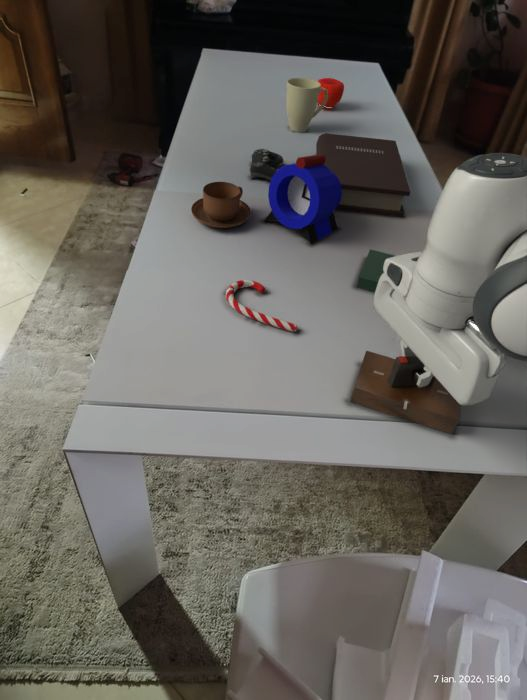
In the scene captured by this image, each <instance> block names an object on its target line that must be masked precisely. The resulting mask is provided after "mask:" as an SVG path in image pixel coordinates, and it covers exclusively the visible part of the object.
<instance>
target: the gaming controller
mask: <svg viewBox="0 0 527 700" xmlns="http://www.w3.org/2000/svg"><path fill="white" fill-rule="evenodd" d="M283 163H284V157H283V156H282V155H281V154H279V153H277V152H274V151H270V150H269V149H265V148H259V149H256V150H254V151H253V153H252V154H251V164H250V167H249V173H250V177H251V178H250V179H253V178H259V177H260V178H262V179H264V180H265V179H266V180H267V181H270V182H271V179H272V177H273V175H274V174H275V173H276V171H277V170H278V169H276V168H274V167H273V166H280V165H282V164H283Z"/></svg>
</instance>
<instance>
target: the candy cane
mask: <svg viewBox="0 0 527 700" xmlns="http://www.w3.org/2000/svg"><path fill="white" fill-rule="evenodd" d="M242 288H253V289H255V290H257V291H258V292H259V293H261V294H263V293H264V294H265V292H266V287H264V285H263V284H261V283H259V282H257V281H255V280H251V279H241V280H237V281H235V282H233V283H231V284H230V285H229V286H228V287H227V289H226V291H225V298H226V301H227V303H228V304H229V306H230V307H232V308H233V310H235V311H236V312H238V313H239V314H241V315H243V316H245V317H247V318H250V319H253V320H255V321H257V322H261V323H263V324H265V325H268V326H272V327H275V328H278V329H281V330H285V331H288V332H294V333H296V332H297V330H298V325H297V324H296V323H293V322H290V321H286V320H283V319H279V318H276V317H273V316H270V315H267V314H264V313H262V312H259V311H256V310H253V309H251V308H249V307H247V306H245V305H243V304H242V303H240V302H239V301H237V300H236V298H235V296H234V294H235V292H237V290H239V289H242Z"/></svg>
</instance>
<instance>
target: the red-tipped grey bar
mask: <svg viewBox="0 0 527 700" xmlns="http://www.w3.org/2000/svg"><path fill="white" fill-rule="evenodd" d="M394 359H395V362H394V365H393V368H392V370H391V373H390V376H389V379H388V381H389V384H390V386H391V387H412V386H417V384H416V383H415V382H414V381H413V377H414V374H415V372H416V371H422V370H423V369H424V366H425V365H424V364H423V363H422V362H421V360H420V359H419V358H418V357H417V356H412V357H406V356H402V355H400V356H396V357H395V358H394ZM435 378H436V377H435V376H433V377H432V379H431V381H430V383H429V384H428V385H427V386H432V385H433V383H434V381H435Z"/></svg>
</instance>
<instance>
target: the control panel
mask: <svg viewBox="0 0 527 700" xmlns="http://www.w3.org/2000/svg"><path fill="white" fill-rule="evenodd" d="M395 359H396V358H393V357H389V356H386V355H383V354H380V353H376V352H373V351H369V350H365V353H364V355H363V360H362V363H361V365H360V369H359V372H358V374H357V378H356V381H355V385H354V388H353V391H352V394H351V397H350V403H352V404H356V405H359V406H362V407H365V408H369V409H371V410H374V411H378V412H381V413H384V414H388V415H391V416H394V417H396V418H400V419H403V420H405V421H406V420H407V421H410V422H412V423H415V424H418V425H421V426H425V427H429V428H432V429H434V430H438V431H441V432H443V433H447V434H450V435H452V434H453V432H454V431H455V429H456V427H457V425H458V423H459V421H460V415H461V406H462V405H460V404H459V403H458V402H457V401H456V400H455V399H454V398H453V396H452V395H451V394H450V393H449V392H448V391H447V390H446V389H445V387H444V386H443V385H442V384H441V383H440V382H439V381H438V380H437V378H435V381H434V383H433V385H432V386H424V387H421V388H420V387H418V386H412V387H391V386H390V384H389V381H388V379H389V376H390V373H391V370H392V368H393V365H394V362H395Z"/></svg>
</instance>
